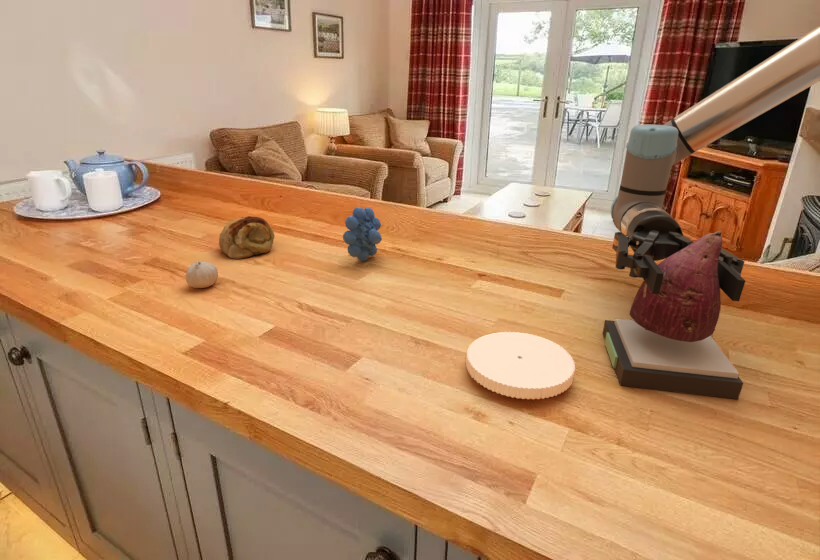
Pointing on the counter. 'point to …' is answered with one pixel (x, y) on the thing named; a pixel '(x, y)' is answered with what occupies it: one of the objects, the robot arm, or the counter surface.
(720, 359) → the scale
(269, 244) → the pastry
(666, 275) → the vegetable
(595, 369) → the counter surface
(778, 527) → the counter surface
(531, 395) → the plastic lid
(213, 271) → the garlic
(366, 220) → the grapes
